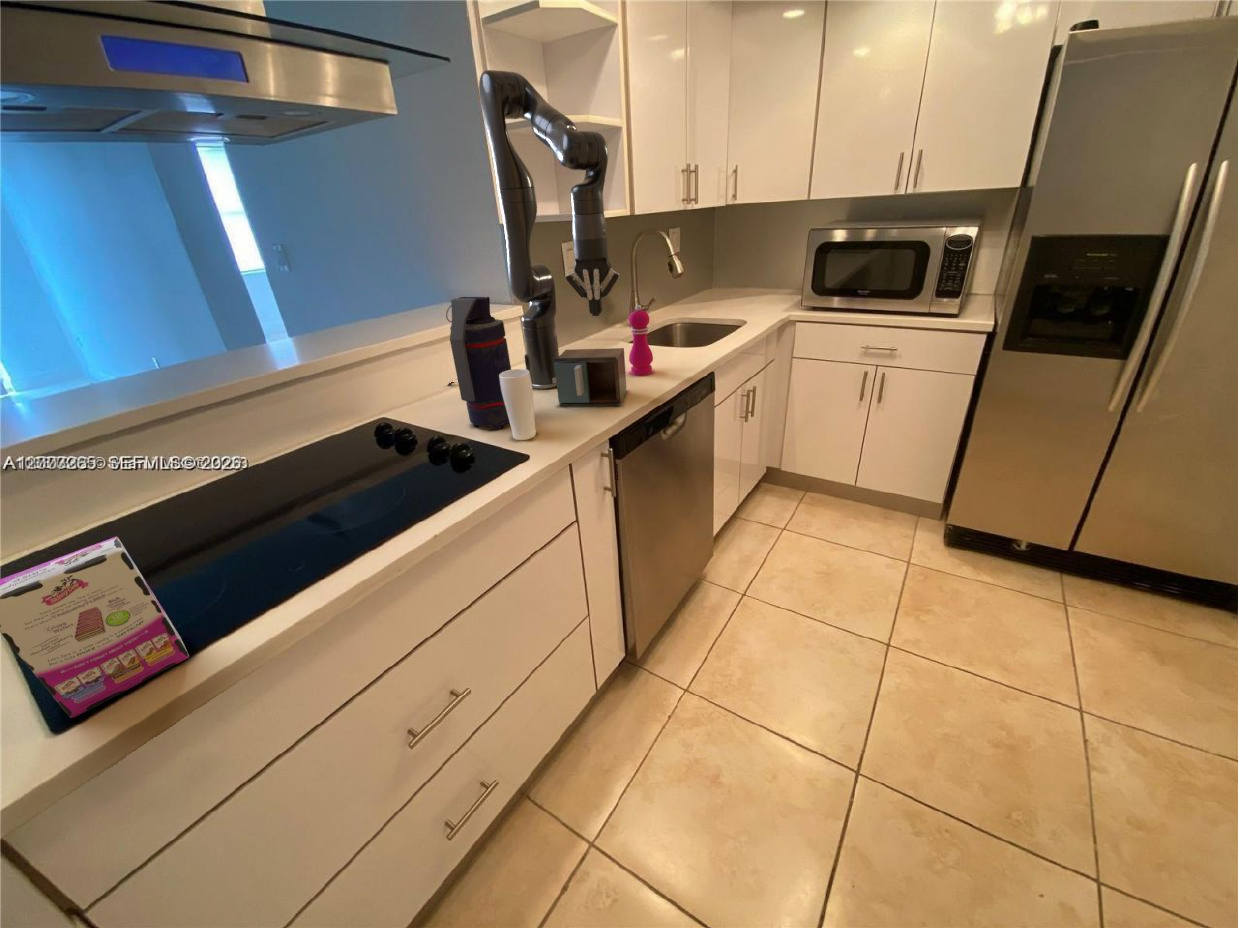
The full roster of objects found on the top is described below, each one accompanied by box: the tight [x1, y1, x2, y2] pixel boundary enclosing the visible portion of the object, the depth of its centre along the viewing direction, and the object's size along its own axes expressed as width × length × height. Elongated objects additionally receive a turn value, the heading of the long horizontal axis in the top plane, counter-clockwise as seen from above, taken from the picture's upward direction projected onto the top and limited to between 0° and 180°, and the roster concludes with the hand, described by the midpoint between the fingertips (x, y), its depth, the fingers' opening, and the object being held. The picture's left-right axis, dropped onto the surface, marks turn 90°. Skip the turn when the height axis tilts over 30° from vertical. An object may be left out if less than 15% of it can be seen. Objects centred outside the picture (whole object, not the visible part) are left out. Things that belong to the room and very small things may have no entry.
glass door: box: [554, 363, 589, 404], centre depth 132 cm, size 8×4×10 cm, turn 80°
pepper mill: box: [628, 304, 654, 377], centre depth 154 cm, size 7×7×20 cm
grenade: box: [445, 296, 512, 430], centre depth 122 cm, size 14×12×30 cm
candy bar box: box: [0, 535, 190, 719], centre depth 58 cm, size 11×5×16 cm, turn 138°
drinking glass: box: [499, 368, 537, 441], centre depth 116 cm, size 7×7×15 cm
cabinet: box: [554, 347, 628, 408], centre depth 137 cm, size 16×12×13 cm
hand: (596, 315), depth 124 cm, fingers closed
